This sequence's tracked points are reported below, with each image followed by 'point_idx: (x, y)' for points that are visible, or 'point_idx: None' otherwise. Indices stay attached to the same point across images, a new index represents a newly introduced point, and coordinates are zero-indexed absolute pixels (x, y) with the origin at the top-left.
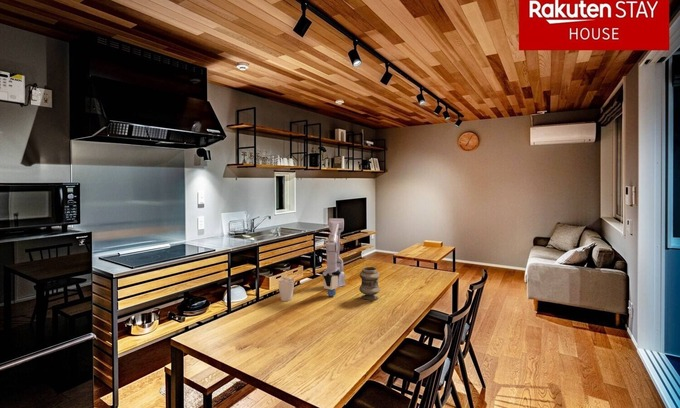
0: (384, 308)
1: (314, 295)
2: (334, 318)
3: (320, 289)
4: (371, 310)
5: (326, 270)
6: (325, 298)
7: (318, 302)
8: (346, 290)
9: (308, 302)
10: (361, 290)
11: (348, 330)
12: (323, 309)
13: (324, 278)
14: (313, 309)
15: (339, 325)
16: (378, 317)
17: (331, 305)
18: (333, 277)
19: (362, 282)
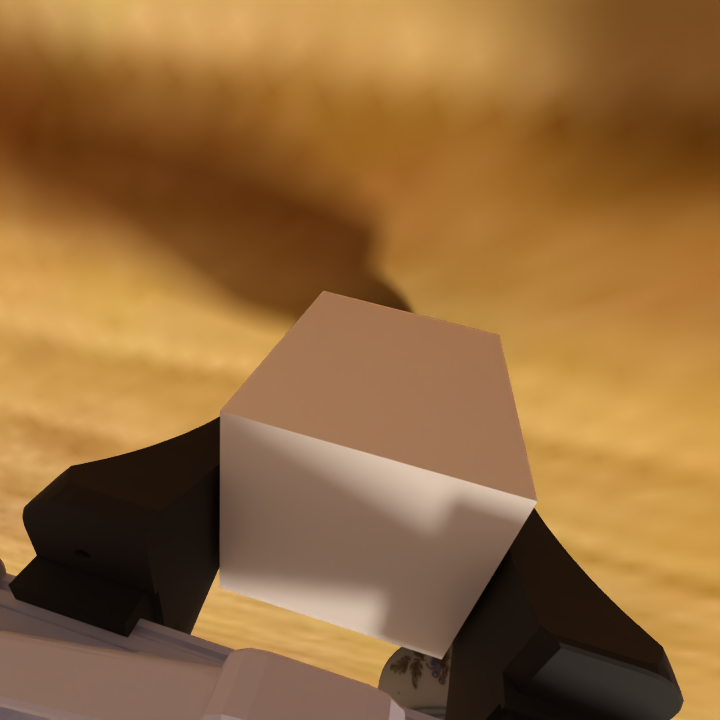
0: (332, 664)
1: (314, 102)
2: (39, 483)
3: (667, 16)
4: (268, 619)
5: (100, 705)
6: (293, 304)
7: (155, 283)
8: (673, 436)
9: (79, 174)
10: (394, 668)
11: (9, 553)
12: (77, 386)
13: (157, 448)
14: (14, 314)
15: (7, 518)
16: (209, 638)
17: (180, 415)
18: (281, 607)
19: None
